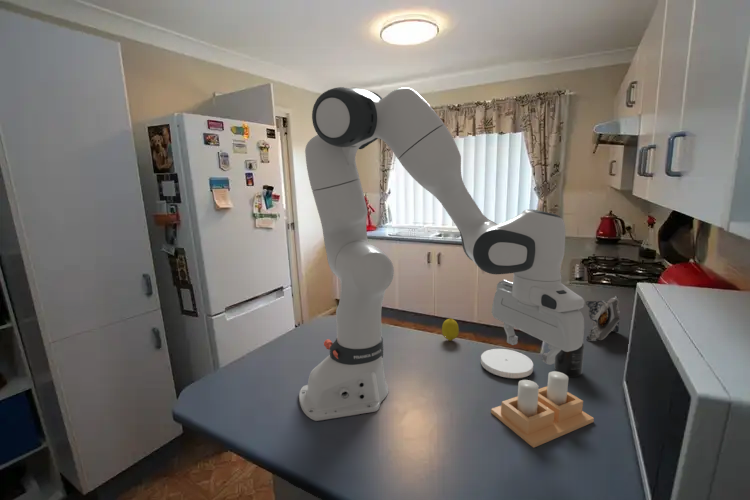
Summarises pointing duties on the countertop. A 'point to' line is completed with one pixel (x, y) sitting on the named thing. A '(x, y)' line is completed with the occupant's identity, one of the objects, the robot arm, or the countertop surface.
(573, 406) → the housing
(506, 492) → the countertop surface
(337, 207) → the robot arm
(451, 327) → the lemon
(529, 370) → the plastic lid
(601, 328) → the ornate grey picture frame
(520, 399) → the peg
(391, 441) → the countertop surface
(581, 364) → the supplement bottle
